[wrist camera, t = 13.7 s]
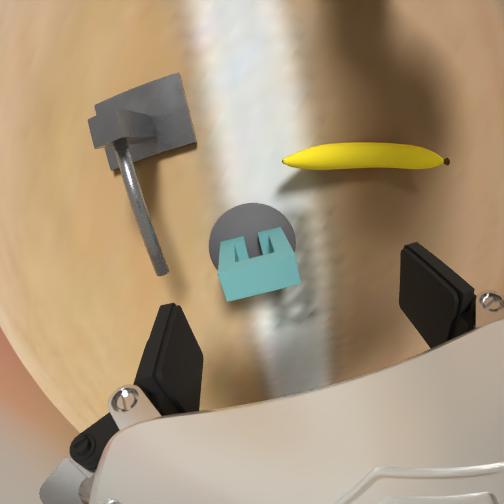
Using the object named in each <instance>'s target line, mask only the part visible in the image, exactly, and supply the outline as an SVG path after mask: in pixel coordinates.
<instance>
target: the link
mask: <svg viewBox="0 0 504 504" xmlns="http://www.w3.org/2000/svg"><path fill="white" fill-rule="evenodd" d="M258 237H259V241H260V245H261V249H262V253H263V255H262V256H258V257H254V258H249V254H248V250H247V247H246V243H245V239H244V236H242V237H238V238H234V239H230V240H226V241H222V242H221V243H220V254H219V265H218V276H219V279H220V282H221V285H222V288H223V291H224V294H225V297H226V300H227V302H229V301H233V300H237V299H241V298H246V297H250V296H254V295H258V294H262V293H266V292H270V291H274V290H278V289H282V288H286V287H290V286H294V285H298V284H301V282H300V277H299V271H298V266H297V261H296V256H295V253H294V251H293V249H292V247H291V245H290V244H289V242H288V240H287V238H286V236H285V234H284V232H283V230H282V228H281V227H278V228H274V229H270V230H266V231H262V232H258Z"/></svg>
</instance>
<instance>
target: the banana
mask: <svg viewBox="0 0 504 504" xmlns="http://www.w3.org/2000/svg"><path fill="white" fill-rule="evenodd" d="M282 162H283V164H286V165H288V166H291V167H295V168H301V169H310V170H333V169H351V168H402V169H429V168H434V167H437V166H439V165H441V164H446V165H449V163H450V160H449V159H448V158H446V159H443V158H442V157H441V156H439V155H438V154H436V153H435V152H432V151H430V150H428V149H425V148H422V147H419V146H413V145H407V144H395V143H375V142H350V143H333V144H325V145H319V146H315V147H311V148H308V149H305V150H303V151H300V152H297V153H295V154H293V155H290V156H288V157H286V158H284V159H283V160H282Z"/></svg>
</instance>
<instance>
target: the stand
mask: <svg viewBox="0 0 504 504" xmlns="http://www.w3.org/2000/svg"><path fill="white" fill-rule="evenodd" d="M94 106H95V110H96V115H97V116H95V117H92V118H90V119H88V124H89V128H90V132H91V136H92V140H93V144H94V148H95V149H98V148H105V151H106V155H107V158H108V162H109V165H110V169H111V170H114V169H117V168H120V171H121V175H122V178H123V181H124V185H125V188H126V191H127V194H128V197H129V200H130V203H131V207H132V210H133V212H134V215H135V218H136V221H137V224H138V227H139V230H140V233H141V235H142V238H143V241H144V244H145V246H146V249H147V252H148V254H149V257H150V259H151V262H152V265H153V267H154V270H155V272H156V275H157V276H163V275H165V274H167V273H168V272H169V269H168V266H167V263H166V261H165V258H164V255H163V252H162V250H161V247H160V244H159V241H158V239H157V236H156V233H155V230H154V227H153V224H152V221H151V218H150V215H149V212H148V209H147V206H146V203H145V200H144V197H143V194H142V190H141V187H140V184H139V181H138V177H137V174H136V171H135V167H134V164H133V162H136V161H138V160H141V159H144V158H147V157H150V156H153V155H156V154H159V153H162V152H165V151H168V150H171V149H174V148H177V147H181V146H184V145H187V144H191V143H194V142H197V139H196V136H195V132H194V128H193V124H192V120H191V116H190V112H189V108H188V104H187V100H186V96H185V92H184V88H183V84H182V80H181V76H180V74H179V73H175V74H172V75H169V76H166V77H163V78H160V79H157V80H154V81H152V82H149V83H146V84H143V85H141V86H138V87H136V88H133V89H131V90H128V91H126V92H123V93H121V94H118V95H116V96H114V97H112V98H109V99H107V100H105V101H103V102H101V103H98V104H96V105H94Z"/></svg>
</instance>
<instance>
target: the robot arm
mask: <svg viewBox="0 0 504 504" xmlns="http://www.w3.org/2000/svg"><path fill="white" fill-rule="evenodd" d="M474 290H475V289H474V288H473V287H472V286H470V285H469V284H468V283H467V282H466V281H465V280H464V279H462V278H461V277H460V276H459V275H458V274H456V273H455V272H454V271H453V270H452V269H450V268H449V267H448V266H447V265H446V264H444V263H443V262H442V261H441V260H439V259H438V258H437V257H436V256H434V255H433V254H432V253H431V252H429V251H428V250H427V249H425V248H424V247H423V246H422V245H420V244H419V243H417V242H415V243H411V244H408V245H405V246H404V248H403V250H401V267H400V293H399V305H400V308H401V309H402V311H403V312H404V313H405V315H406V316H407V317H408V319H409V320H410V321H411V322H412V324H413V325H414V326H415V328H416V329H417V330H418V332H419V333H420V334H421V336H422V337H423V338H424V340H425V341H426V343H427V344H428V345H429V347H430V348H431V349H429V350H427V351H425V352H422V353H420V354H417V355H415V356H413V357H410V358H408V359H405V360H403V361H400V362H397V363H395V364H392V365H389V366H387V367H384V368H381V369H378V370H375V371H373V372H370V373H367V374H364V375H361V376H358V377H354V378H351V379H348V380H345V381H342V382H338V383H335V384H331V385H328V386H324V387H320V388H317V389H313V390H309V391H305V392H301V393H297V394H293V395H288V396H284V397H279V398H275V399H270V400H265V401H260V402H254V403H249V404H243V405H237V406H231V407H224V408H218V409H211V410H203V411H199V405H200V393H201V381H202V370H203V354H202V351H201V349H200V347H199V345H198V343H197V341H196V339H195V336H194V334H193V332H192V330H191V328H190V326H189V324H188V322H187V319H186V317H185V315H184V313H183V311H182V308H181V307H180V306H179V305H178V306H176V304H175V303H170V304H166V305H161V306H160V308H159V311H158V314H157V317H156V320H155V322H154V325H153V328H152V331H151V334H150V337H149V340H148V341H147V343H146V346H145V349H144V352H143V355H142V359H141V362H140V365H139V368H138V371H137V374H136V378H135V381H134V384H133V385H124V386H122V387H120V388H118V389H117V390H115V391H114V392H113V393H112V395H111V396H110V398H109V400H108V409H109V411H110V412H109V413H108V414H107V415H105V416H104V417H102V418H101V419H100V420H98V421H97V422H96V423H94V424H93V425H92V426H90V427H89V428H87V429H86V430H85V431H83V432H82V433H80V434H79V435H78V436H77V437H76V438H74V440H73V441H72V443H71V446H70V455H71V457H70V458H69V459H68V458H66V457H65V459H64V460H63V461H62V462H61V463H60V464H59V466H58V467H57V468H56V469H55V470H54V471H53V473H52V474H51V475H50V476H49V477H48V479H47V480H46V481H45V482H44V483H43V485H42V486H41V488H40V493H39V494H40V499H41V501H42V503H43V504H504V296H503V295H501V294H500V293H498V292H496V291H491V290H486V291H482V292H480V293H479V294H478V295H477V296H476V295H475V294H474Z"/></svg>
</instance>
